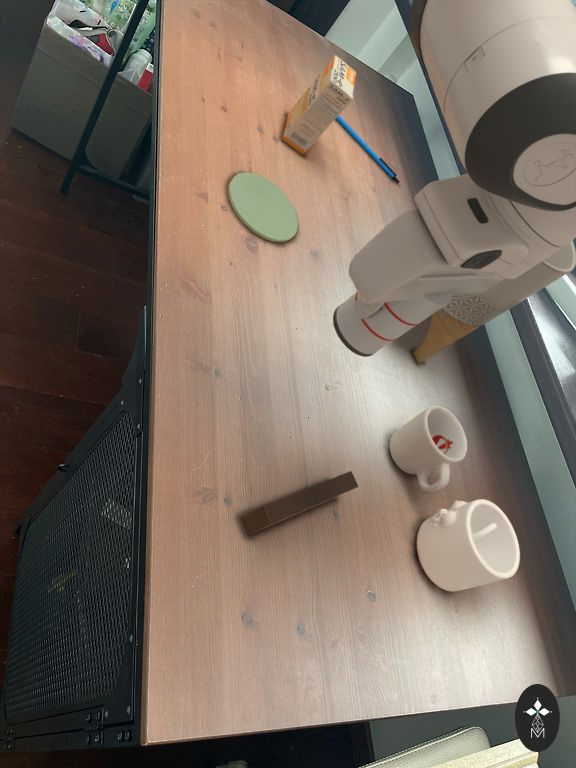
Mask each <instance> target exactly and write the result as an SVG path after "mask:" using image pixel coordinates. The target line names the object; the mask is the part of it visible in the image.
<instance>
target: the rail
mask: <svg viewBox="0 0 576 768" xmlns="http://www.w3.org/2000/svg"><path fill="white" fill-rule="evenodd" d="M357 488H359V485H358V482H357V480H356V478H355V475H354V474H353V471H352V470H349V471H347V472H345V473H342V474H340V475H337V476H334V477H332V478H329V479H327V480H325V481H322V482H319V483H317V484H314V485H312V486H310V487H307V488H304V489H302V490H300V491H296V492H295V493H292V494H289V495H287V496H285V497H281V498H279V499H277V500H274V501H271V502H269V503H266V504H264V505H262V506H260V507H257V508H256V509H254V510H253V511H250V512H249V513H246V514H245V515H243V516H241V518H240V519H241V521H242V523H243V525H244V528H245V530H246V533H247V535H248V536H250V535H253V534H254V533H257V532H259V531H261V530H264V529H266V528H269V527H271V526H274V525H276V524H278V523H280V522H282V521H285V520H287V519H289V518H292V517H295V516H296V515H298V514H299V515H300V513H303V512H305V511H309V510H310V509H312V508H314V507H317V506H319V505H322V504H324V503H326V502H329V501H331V500H333V499H335V498H338V497H339V496H342V495H344V494H346V493H349V492H350V491H352V490H354V489H355V490H356V489H357Z"/></svg>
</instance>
